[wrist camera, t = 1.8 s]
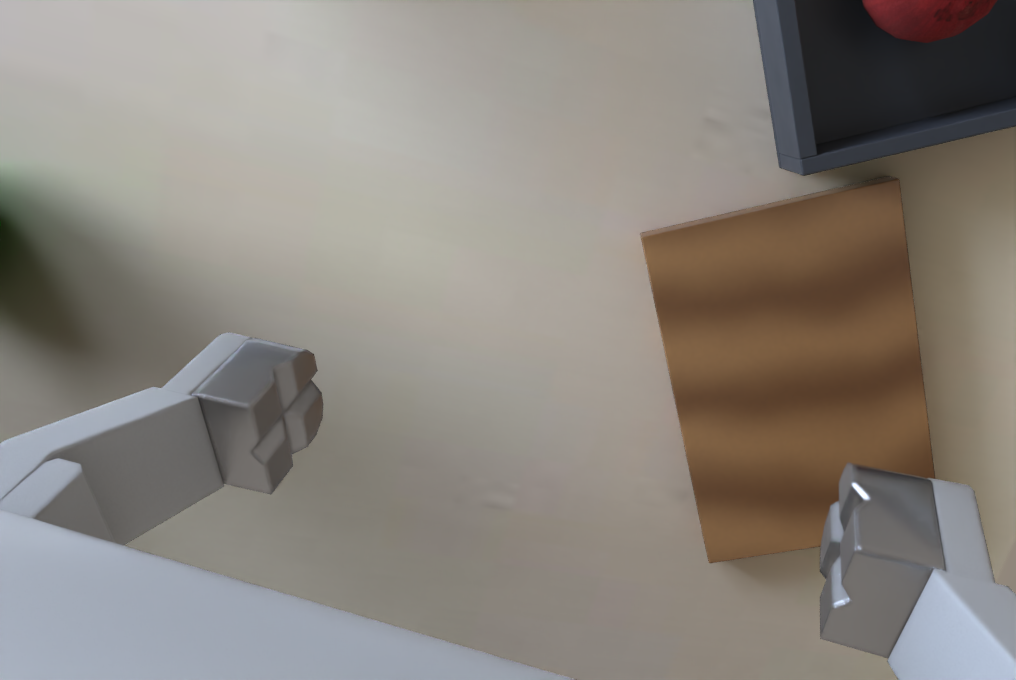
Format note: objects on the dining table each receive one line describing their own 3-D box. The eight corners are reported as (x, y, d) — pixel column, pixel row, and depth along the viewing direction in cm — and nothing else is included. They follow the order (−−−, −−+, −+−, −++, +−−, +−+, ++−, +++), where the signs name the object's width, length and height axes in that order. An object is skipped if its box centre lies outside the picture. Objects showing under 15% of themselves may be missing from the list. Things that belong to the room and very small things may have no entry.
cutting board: (639, 232, 43) (641, 237, 41) (889, 175, 41) (899, 178, 39) (706, 550, 48) (709, 563, 46) (930, 515, 46) (941, 528, 44)
